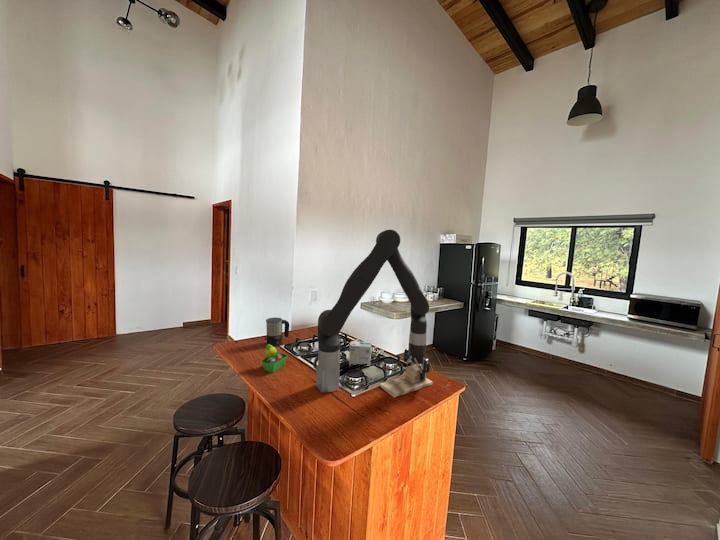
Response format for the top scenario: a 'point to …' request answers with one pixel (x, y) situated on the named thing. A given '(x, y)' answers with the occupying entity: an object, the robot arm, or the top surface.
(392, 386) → the board
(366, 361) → the light bulb box
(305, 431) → the top surface
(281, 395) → the top surface
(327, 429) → the top surface
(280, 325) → the milk frother
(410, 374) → the block
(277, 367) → the fruit basket
